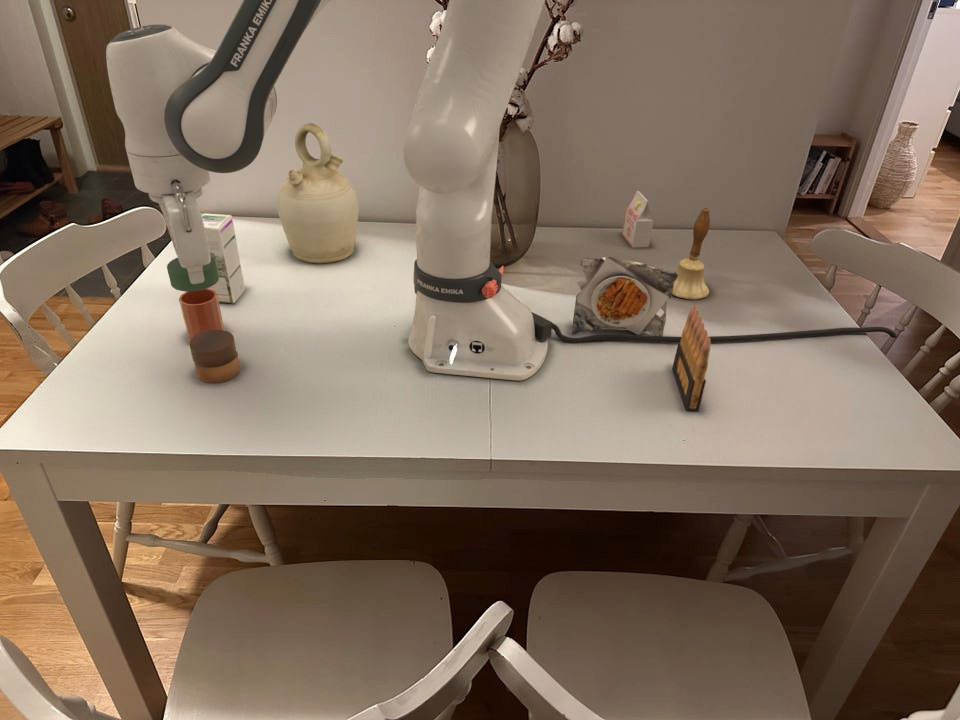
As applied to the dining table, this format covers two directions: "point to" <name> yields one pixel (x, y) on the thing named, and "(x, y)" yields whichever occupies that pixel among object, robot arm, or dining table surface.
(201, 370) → the oak chip
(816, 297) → the dining table surface
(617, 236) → the dining table surface
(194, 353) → the walnut chip
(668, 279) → the meal
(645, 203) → the white carton
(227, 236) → the syrup box
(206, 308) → the cup
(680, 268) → the hand bell
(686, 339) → the ammunition clip
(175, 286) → the green chip
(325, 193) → the jug
